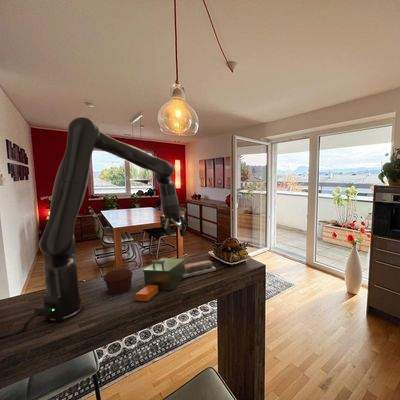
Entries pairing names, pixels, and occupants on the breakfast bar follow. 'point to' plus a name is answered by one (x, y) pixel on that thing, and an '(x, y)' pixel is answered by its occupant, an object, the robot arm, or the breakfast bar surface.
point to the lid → (163, 265)
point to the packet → (147, 293)
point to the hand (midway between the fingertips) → (176, 235)
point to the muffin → (118, 280)
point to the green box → (165, 277)
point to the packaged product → (198, 268)
